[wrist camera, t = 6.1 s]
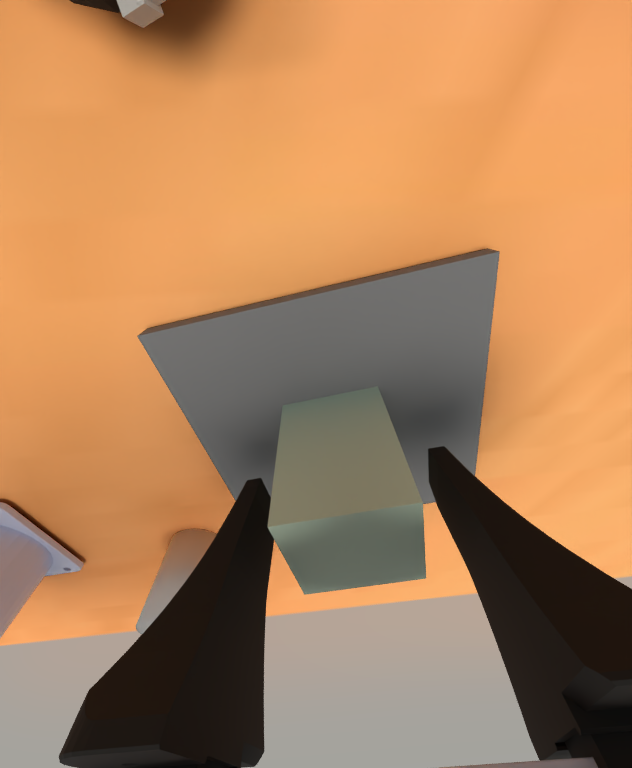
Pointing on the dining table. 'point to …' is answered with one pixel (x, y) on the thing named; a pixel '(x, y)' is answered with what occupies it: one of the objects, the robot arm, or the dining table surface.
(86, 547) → the dining table surface
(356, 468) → the block
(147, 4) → the robot toy
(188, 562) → the grey cylinder
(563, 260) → the dining table surface
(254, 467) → the mat
